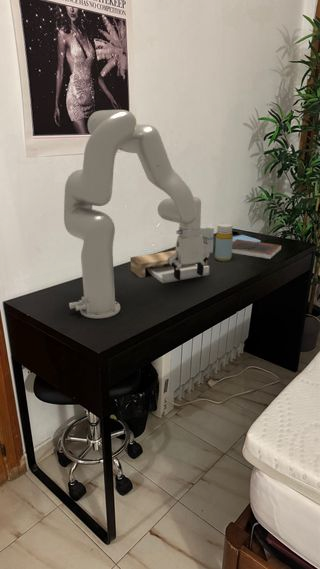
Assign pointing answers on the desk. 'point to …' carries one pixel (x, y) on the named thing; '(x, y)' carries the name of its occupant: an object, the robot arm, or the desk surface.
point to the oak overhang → (150, 262)
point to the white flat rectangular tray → (185, 272)
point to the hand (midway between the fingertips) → (188, 276)
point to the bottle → (223, 242)
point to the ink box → (207, 236)
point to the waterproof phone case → (245, 238)
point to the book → (255, 248)
